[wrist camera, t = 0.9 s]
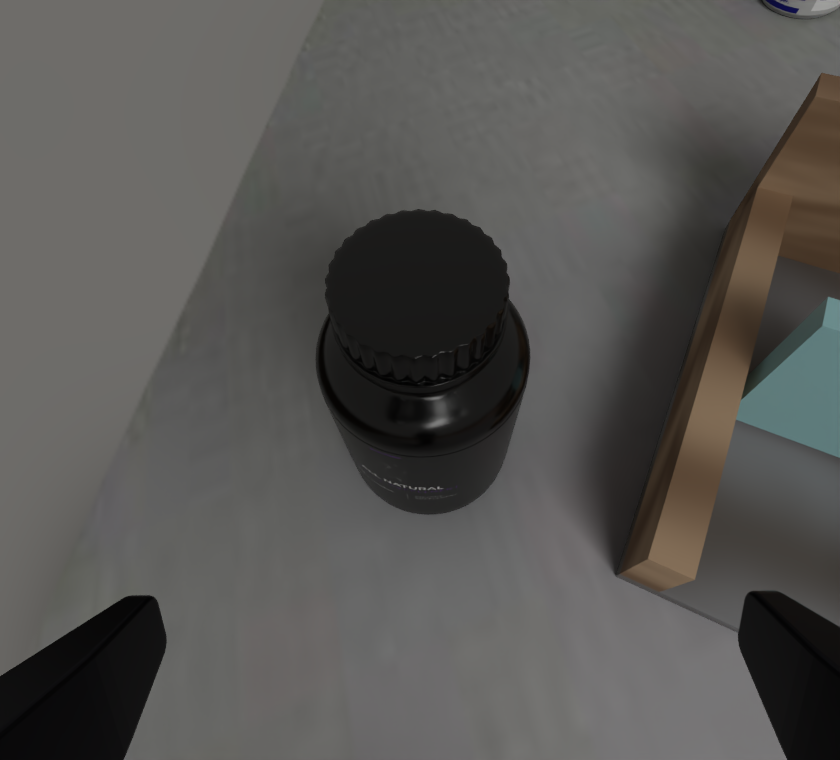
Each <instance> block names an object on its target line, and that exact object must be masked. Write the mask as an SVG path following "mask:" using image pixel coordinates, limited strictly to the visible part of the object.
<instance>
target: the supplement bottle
mask: <svg viewBox="0 0 840 760" xmlns="http://www.w3.org/2000/svg"><path fill="white" fill-rule="evenodd" d="M325 283H326V287H327V289H326V292H325V299H326V302H327V305H328V308H329V314H328V315H327V317H326V319H325V321H324V323H323V326H322V328H321V331H320V334H319V338H318V342H317V348H316V371H317V377H318V381H319V385H320V388H321V391H322V394H323V396H324V399H325V401H326V404H327V406H328V408H329V410H330V412H331V414H332V416H333V419H334V421H335V423H336V425H337V427H338V429H339V431H340V433H341V436H342V438H343V440H344V442H345V444H346V446H347V448H348V450H349V452H350V455H351V457H352V459H353V461H354V463H355V465H356V467H357V469H358V471H359V472H360V474H361V476H362V478H363V479H364V481H365V482H366V484H367V485H368V486H369V487H370V488H371V490H372V491H373V492H374V493H375V494H376V495H378V496H379V497H380V498H381V499H383V500H384V501H386V502H387V503H389V504H390V505H392V506H394V507H396V508H399V509H401V510H404V511H408V512H411V513H417V514H441V513H446V512H451V511H454V510H457V509H459V508H462V507H464V506H466V505H468V504H469V503H471V502H473V501H474V500H476V499H477V498H478V497H480V496H481V495H482V494H483V493H484V492H485V491H486V490H487V489H488V488H489V487H490V485H491V484H492V483H493V481H494V480H495V478H496V477H497V475H498V473H499V471H500V469H501V467H502V464H503V461H504V459H505V456H506V453H507V449H508V446H509V443H510V439H511V436H512V432H513V429H514V425H515V422H516V419H517V415H518V412H519V408H520V405H521V402H522V398H523V395H524V391H525V388H526V384H527V379H528V374H529V367H530V346H529V339H528V335H527V331H526V328H525V325H524V323H523V320H522V318H521V316H520V314H519V313H518V311H517V309H516V308H515V306H514V305H513V303H512V302H511V301H510V299H509V293H508V291H509V285H510V279H509V276H508V274H507V263H506V262H505V261H504V260H503V259H502V256H501V250H500V249H499V248H498V247H497V246H495V245H494V242H493V240H492V238H491V237H489V236H487V235H485V234H484V233H483V231H482V229H481V228H480V227H477V226H474V225H472V224H471V223H470V222H469V221H468V220H466V219H460V218H457V217H456V216H454V215H453V214H443V213H441V212H439V211H436V210H432V211H425V210H421V209H417V210H414V211H400V212H398V213H396V214H386V215H384V216H383V217H381V218H380V219H376V220H372V221H370V222H369V223H368V224H367V225H366V226H364V227H361V228H358V229H357V230H356V231H355V232H354V234H353V235H352V236H350V237H348V238H347V239H345V241H344V243H343V245H342V247H340V248H339V249H338V250H336V251H335V257H334V259H333V260H332V261H331V263H330V264H329V273H328V275H327V277H326V278H325Z"/></svg>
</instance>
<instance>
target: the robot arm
mask: <svg viewBox="0 0 840 760" xmlns="http://www.w3.org/2000/svg"><path fill="white" fill-rule="evenodd" d="M738 642H739V647H740V650H741V653H742V656H743V658H744V660H745V663H746V665H747V667H748V670H749V672H750V674H751V677H752V679H753V682H754V684H755V686H756V689H757V691H758V693H759V696H760V698H761V700H762V703H763V705H764V707H765V710H766V712H767V715H768V717H769V719H770V722H771V724H772V726H773V729H774V731H775V733H776V736H777V738H778V741H779V743H780V745H781V747H782V749H783V752H784V754H785V756H786V758H787V760H840V627H839V626H838V625H836V624H834V623H833V622H831V621H829V620H828V619H826V618H824V617H822V616H821V615H819V614H817V613H816V612H814V611H812V610H811V609H809V608H807V607H806V606H804V605H802V604H800V603H799V602H797V601H795V600H794V599H792V598H790V597H789V596H787V595H785V594H783V593H781V592H779V591H774V590H754V591H750V592H748V593H747V595H746V596H745V599H744V604H743V610H742V615H741V620H740V626H739V631H738ZM166 643H167V639H166V632H165V628H164V624H163V620H162V616H161V612H160V608H159V604H158V602H157V600H156V598H155V597H153V596H150V595H132V596H127V597H125V598H123V599H121V600H120V601H118V602H116V603H115V604H113V605H112V606H110V607H109V608H107V609H105V610H104V611H102V612H101V613H99V614H98V615H96V616H94V617H93V618H91V619H90V620H88V621H87V622H85V623H83V624H82V625H80V626H79V627H77V628H75V629H74V630H72V631H71V632H69V633H68V634H66V635H64V636H63V637H61V638H60V639H58V640H57V641H55V642H53V643H52V644H50V645H49V646H47V647H46V648H44V649H42V650H41V651H39V652H38V653H36V654H34V655H33V656H31V657H30V658H28V659H27V660H25V661H23V662H22V663H20V664H19V665H17V666H16V667H14V668H12V669H11V670H9V671H8V672H6V673H5V674H3V675H1V676H0V760H124V757H125V755H126V753H127V750H128V748H129V745H130V743H131V741H132V738H133V735H134V733H135V730H136V728H137V725H138V722H139V720H140V717H141V714H142V712H143V709H144V706H145V704H146V701H147V698H148V696H149V693H150V690H151V688H152V685H153V683H154V680H155V677H156V675H157V672H158V669H159V667H160V664H161V661H162V659H163V656H164V653H165V649H166Z"/></svg>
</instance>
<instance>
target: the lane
mask: <svg viewBox="0 0 840 760" xmlns="http://www.w3.org/2000/svg"><path fill="white" fill-rule="evenodd" d="M827 297H831V298H834V299H837V300H840V77H839V76H834V75H829V74H824V73H821V75H820V76H819V78H818V80H817V81H816V83H815V84H814V86H813V88H812V89H811V91H810V92H809V94H808V96H807V97H806V99H805V101H804V102H803V104H802V105H801V107H800V109H799V110H798V112H797V113H796V115H795V117H794V118H793V120H792V121H791V123H790V125H789V126H788V128H787V130H786V131H785V133H784V134H783V136H782V138H781V139H780V141H779V142H778V144H777V146H776V147H775V149H774V151H773V152H772V154H771V155H770V157H769V159H768V160H767V162H766V163H765V165H764V167H763V168H762V170H761V171H760V173H759V175H758V176H757V178H756V180H755V181H754V183H753V184H752V186H751V188H750V189H749V191H748V192H747V194H746V196H745V197H744V199H743V201H742V202H741V204H740V205H739V207H738V209H737V210H736V212H735V213H734V215H733V217H732V218H731V220H730V221H729V223H728V225H727V226H726V228H725V232H724V235H723V238H722V241H721V244H720V247H719V251H718V254H717V257H716V260H715V263H714V266H713V270H712V273H711V276H710V279H709V282H708V285H707V289H706V292H705V295H704V298H703V301H702V304H701V308H700V311H699V314H698V317H697V320H696V323H695V327H694V330H693V333H692V336H691V339H690V342H689V346H688V349H687V352H686V355H685V358H684V361H683V365H682V368H681V371H680V374H679V377H678V380H677V384H676V387H675V390H674V393H673V396H672V399H671V403H670V406H669V409H668V412H667V415H666V418H665V421H664V425H663V428H662V431H661V434H660V437H659V440H658V444H657V447H656V450H655V453H654V456H653V459H652V463H651V466H650V469H649V472H648V475H647V478H646V482H645V485H644V488H643V491H642V494H641V497H640V501H639V504H638V507H637V510H636V513H635V516H634V520H633V523H632V526H631V529H630V532H629V535H628V539H627V542H626V545H625V548H624V551H623V554H622V558H621V561H620V564H619V567H618V570H617V573H616V577H619V578H621V579H623V580H625V581H627V582H629V583H632V584H634V585H636V586H638V587H640V588H642V589H645V590H647V591H649V592H651V593H653V594H655V595H658V596H660V597H662V598H664V599H666V600H668V601H671V602H673V603H675V604H677V605H679V606H681V607H684V608H686V609H688V610H690V611H692V612H694V613H697V614H699V615H701V616H703V617H705V618H707V619H710V620H712V621H714V622H716V623H718V624H720V625H723V626H725V627H727V628H729V629H731V630H733V631H736V632H738V631H739V626H740V620H741V615H742V610H743V604H744V599H745V596H746V595H747V593H748V592H750V591H754V590H774V591H779V592H781V593H783V594H785V595H787V596H789V597H790V598H792V599H794V600H795V601H797V602H799V603H800V604H802V605H804V606H806V607H807V608H809V609H811V610H812V611H814V612H816V613H817V614H819V615H821V616H822V617H824V618H826V619H828V620H829V621H831V622H833V623H834V624H836V625H838V626H839V627H840V458H839V457H836V456H833V455H831V454H828V453H825V452H823V451H820V450H817V449H814V448H812V447H809V446H806V445H804V444H801V443H798V442H795V441H793V440H790V439H787V438H785V437H782V436H779V435H776V434H774V433H771V432H768V431H766V430H763V429H760V428H758V427H755V426H752V425H749V424H747V423H744V422H741V421H739V420H736V417H737V413H738V409H739V406H740V402H741V398H742V394H743V390H744V386H745V382H746V378H747V376H748V375H749V374H750V373H751V372H752V371H753V370H754V369H755V368H756V367H757V366H758V365H759V364H760V363H761V362H762V361H763V360H764V359H765V358H766V357H767V356H768V355H769V354H770V353H771V352H772V351H773V350H774V349H775V348H776V347H777V346H778V345H780V344H781V343H782V342H783V341H784V340H785V339H786V338H787V337H788V336H789V335H790V334H791V333H792V332H793V331H794V330H795V329H796V328H797V327H798V326H799V325H800V324H801V323H802V322H803V321H804V320H805V319H806V318H807V317H808V316H809V315H810V314H811V313H812V312H813V311H814V310H815V309H816V308H817V307H818V306H819V305H820V304H821V303H822V302H823V301H824V300H825V299H826V298H827Z"/></svg>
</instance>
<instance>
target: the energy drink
mask: <svg viewBox="0 0 840 760" xmlns="http://www.w3.org/2000/svg"><path fill="white" fill-rule="evenodd" d="M762 1H763V3H764V4H765V5H766V6H767V7H768V8H769V9H771V10H773V11H774V12H776V13H779V14H781V15H784V16H787V17H792V18H799V19H812V18H819V17H822V16H825V15H827V14H829V13H830V12H832V11H834V10H836V9H837V8H838V7H840V0H762Z"/></svg>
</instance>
